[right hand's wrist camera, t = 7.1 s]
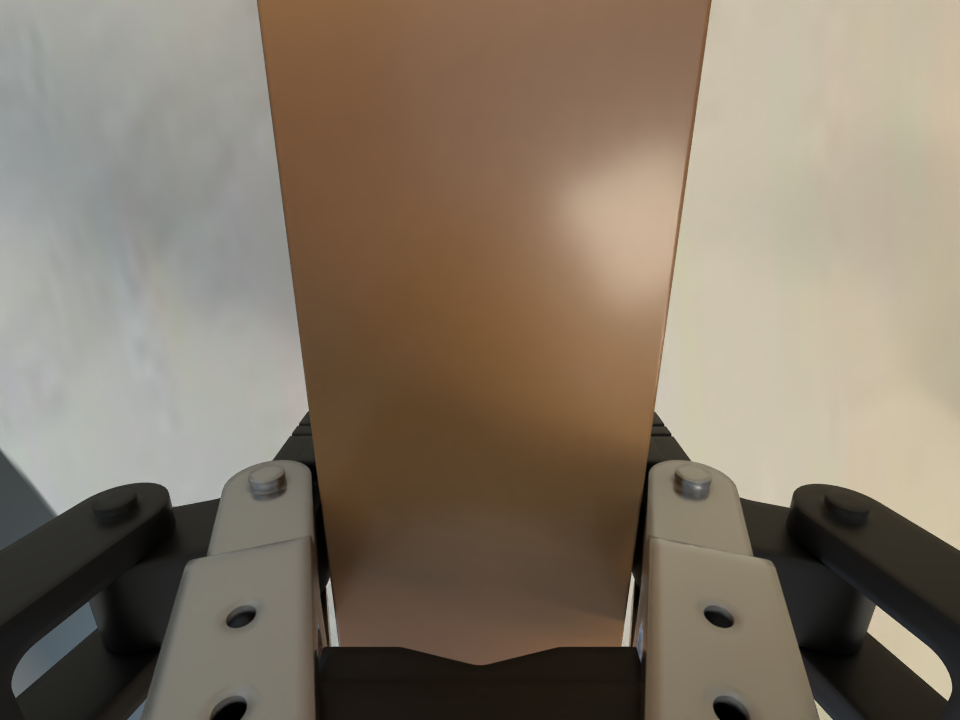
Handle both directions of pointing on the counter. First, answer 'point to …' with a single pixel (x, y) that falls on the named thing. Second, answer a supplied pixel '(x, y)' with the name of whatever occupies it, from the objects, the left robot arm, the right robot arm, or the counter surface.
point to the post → (482, 300)
